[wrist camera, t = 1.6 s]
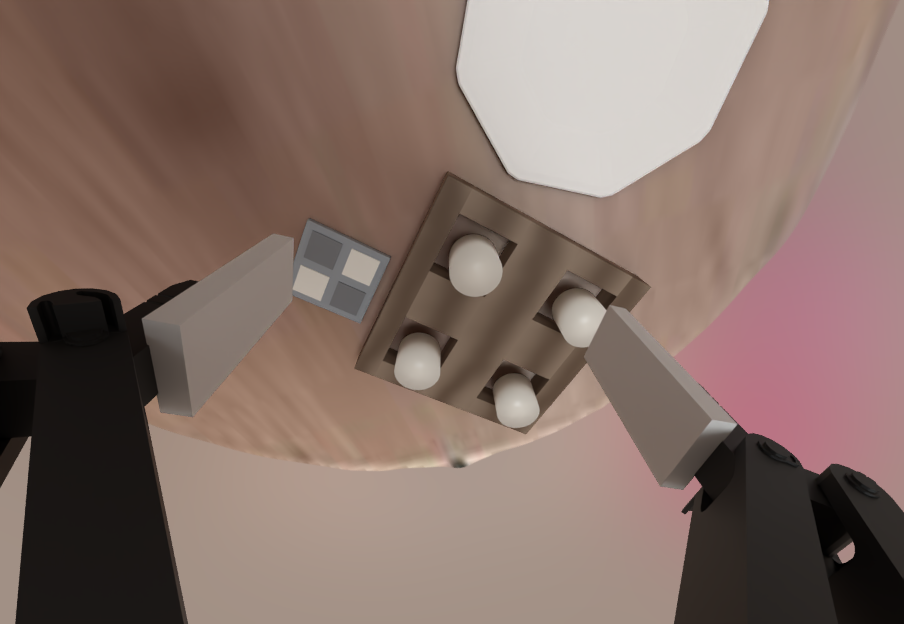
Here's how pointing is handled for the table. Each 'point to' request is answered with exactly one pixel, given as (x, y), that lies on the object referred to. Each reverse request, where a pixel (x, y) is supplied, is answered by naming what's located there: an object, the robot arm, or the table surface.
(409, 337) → the button
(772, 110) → the table surface
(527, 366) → the board
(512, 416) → the button
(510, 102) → the plate
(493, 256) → the button
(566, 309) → the button
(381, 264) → the card
